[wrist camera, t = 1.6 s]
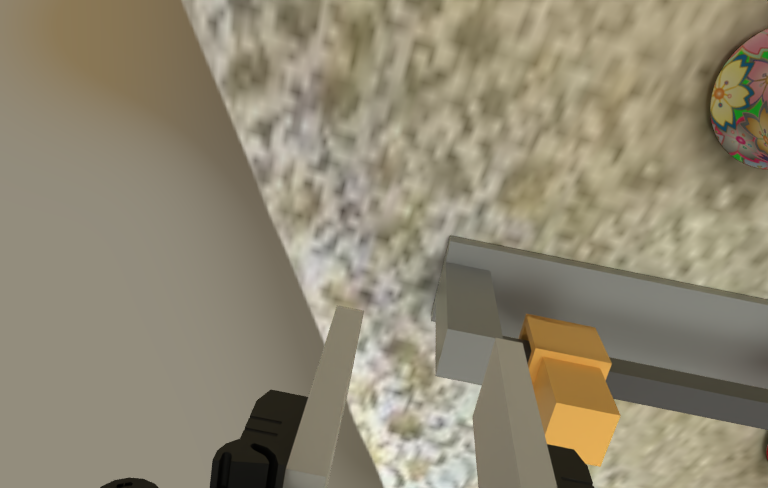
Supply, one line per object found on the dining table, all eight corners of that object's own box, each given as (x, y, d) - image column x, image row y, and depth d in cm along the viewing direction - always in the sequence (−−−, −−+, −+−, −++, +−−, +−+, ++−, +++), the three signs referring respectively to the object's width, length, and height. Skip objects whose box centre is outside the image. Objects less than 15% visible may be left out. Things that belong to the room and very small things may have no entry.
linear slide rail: (450, 235, 43) (454, 309, 33) (879, 322, 43) (1010, 421, 33) (431, 314, 45) (429, 404, 35) (838, 396, 45) (950, 510, 35)
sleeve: (525, 313, 37) (548, 393, 29) (595, 327, 37) (634, 410, 29) (508, 369, 38) (525, 458, 31) (575, 382, 38) (607, 475, 31)
